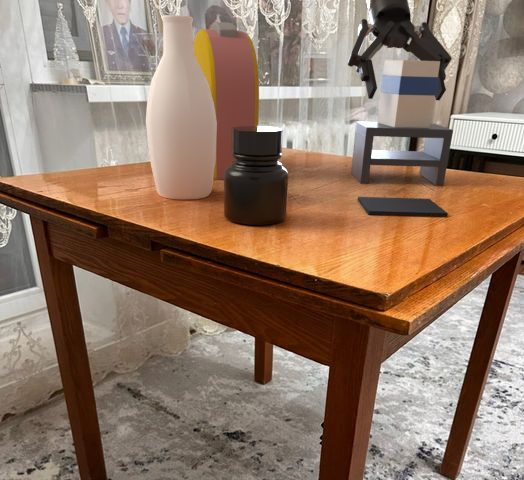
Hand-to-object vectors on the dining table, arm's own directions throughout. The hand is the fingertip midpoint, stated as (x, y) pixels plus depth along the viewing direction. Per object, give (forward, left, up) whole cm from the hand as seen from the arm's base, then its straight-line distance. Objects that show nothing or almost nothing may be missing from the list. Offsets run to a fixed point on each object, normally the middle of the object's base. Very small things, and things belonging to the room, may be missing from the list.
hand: (407, 94), depth 101 cm
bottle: (+40, +20, -16) cm, 47 cm away
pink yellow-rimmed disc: (+35, -5, -16) cm, 39 cm away
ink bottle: (+28, +35, -16) cm, 47 cm away
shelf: (0, 0, -15) cm, 15 cm away
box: (0, -1, -5) cm, 5 cm away
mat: (+5, +26, -15) cm, 30 cm away
